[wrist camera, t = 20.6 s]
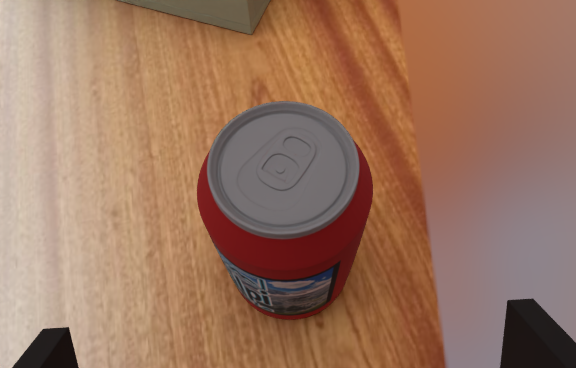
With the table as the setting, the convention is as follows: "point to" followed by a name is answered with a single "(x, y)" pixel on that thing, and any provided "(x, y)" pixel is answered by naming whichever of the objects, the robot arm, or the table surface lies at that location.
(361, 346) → the table surface
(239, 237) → the beverage can
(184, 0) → the chest
